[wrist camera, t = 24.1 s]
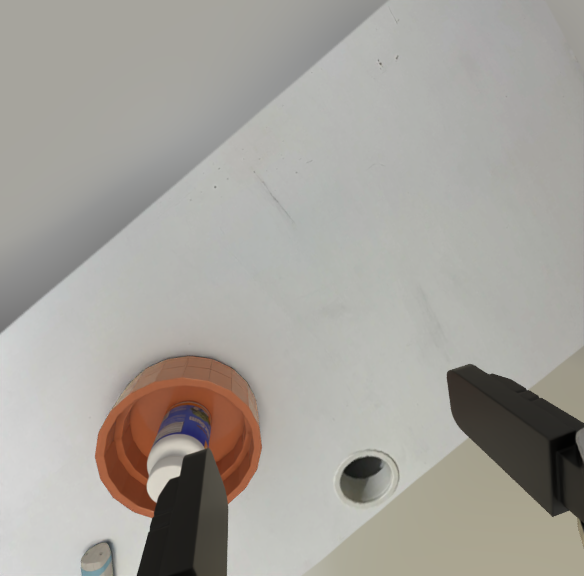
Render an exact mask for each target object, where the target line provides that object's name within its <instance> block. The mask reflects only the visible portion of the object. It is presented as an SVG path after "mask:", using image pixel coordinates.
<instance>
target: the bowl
mask: <svg viewBox="0 0 584 576" xmlns="http://www.w3.org/2000/svg"><path fill="white" fill-rule="evenodd" d="M187 401H190V402H196V403H199V404H201V405H203V406H204V407H205V408H206V409H207V410H208V412H209V413H210V416H211V421H212V424H211V433H210V440H209V447H208V448H210V450H211V451H212V454H213V456H214V459H215V462H216V465H217V467H218V470H219V473H220V476H221V478H222V481H223V484H224V487H225V490H226V495H227V501H228V504H229V503H230V502H231V501H232V500H233V499H234V498H235V497H236V496H238V495H239V494H240V493H241V492H242V491H243V490H244V489H245V488H246V487H247V485H248V483H249V482H250V480H251V478H252V477H253V475H254V473H255V472H256V470H257V467H258V463H259V458H260V454H261V449H262V444H261V436H260V427H259V419H258V411H257V403H256V399H255V397H254V395H253V393H252V391H251V389H250V387H249V385H248V383H247V382H246V381H245V380H244V379H243V378H242V377H241V376H240V375H239V374H238V373H237V372H236V371H235V370H233V369H232V368H231V367H228V366H226V365H224V364H222V363H220V362H218V361H216V360H213V359H209V358H202V357H194V356H185V357H178V358H172V359H167V360H164V361H162V362H159V363H157V364H155V365H153V366H151V367H149V368H147V369H145V370H144V371H143V372H141V373H140V374H139V375H138V376H137V377H136V378H135V379H134V380H133V381H132V382H130V383H129V384H128V386H127V387H126V389H125V390H124V392H123V393H122V395H121V396H120V398H119V399H118V401H117V402H116V404H115V405H114V407H113V408H112V410H111V411H110V413H109V415H108V416H107V418H106V420H105V422H104V424H103V425H102V427H101V429H100V431H99V433H98V439H97V446H96V453H95V459H96V463H97V467H98V471H99V475H100V479H101V481H102V482H103V484H104V485H105V487H106V488H107V489H108V491H109V492H110V494H111V495H112V497H113V498H115V499H116V500H117V501H119V502H120V503H121V504H123V505H124V506H126V507H127V508H129V509H130V510H131V511H134V512H135V513H138V514H141V515H144V516H147V517H150V518H153V517H154V510H155V507H156V502H155V501H153V500H152V499H151V498H150V496H149V494H148V492H147V481H148V478H149V474H148V471H147V460H148V456H149V454H150V451H151V448H152V446H153V443H154V441H155V438H156V436H157V433H158V431H159V428H160V426H161V423H162V420H163V418H164V416H165V414H166V413H167V411H168V410H169V409H170V408H171V407H172V406H174V405H176V404H178V403H181V402H187Z"/></svg>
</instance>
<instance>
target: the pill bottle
mask: <svg viewBox="0 0 584 576" xmlns="http://www.w3.org/2000/svg"><path fill="white" fill-rule="evenodd" d="M211 424H212V421H211V416H210V413H209V412H208V410H207V409H206V408H205V407H204V406H203V405H201V404H199V403H196V402H190V401H187V402H181V403H178V404H176V405H174V406H172V407H171V408H170V409H169V410H168V411H167V413H166V414H165V416H164V418H163V420H162V423H161V426H160V428H159V431H158V433H157V436H156V438H155V441H154V443H153V446H152V448H151V451H150V454H149V456H148V460H147V471H148V474H149V478H148V481H147V492H148V494H149V496H150V498H151V499H152V500H153V501H155V502H156V503H157V499H158V496H159V494H160V493H161V491H162V490H163V488H164V487H165V485H166V484H167V482H168V481H169V479H172V478H175V477H178V476H180V471H181V466H182V462H183V458H184V456H185V455H188V454H191V453H194V452H197V451H200V450H203V449H206V448H208V447H209V440H210V433H211Z"/></svg>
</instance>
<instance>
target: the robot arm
mask: <svg viewBox="0 0 584 576" xmlns="http://www.w3.org/2000/svg"><path fill="white" fill-rule="evenodd" d="M447 383H448V390H449V398H450V405H451V411H452V415H453V417H454V420H455V421H456V423H457V425H458V426H459V428H460V429H461V430H462V431H463V432H464V433H465V434H466V435H467V436H468V437H469V438H471V439H472V440H473V441H474V442H475V443H476V444H477V445H478V446H479V447H480V448H481V449H482V450H483V451H484V452H485V453H486V454H487V455H488V456H489V457H491V459H493V460H494V461H495V462H496V463H497V464H498V465H499V466H500V467H501V468H502V469H503V470H504V471H505V472H506V473H507V474H508V475H510V477H511V478H512V479H513V480H515V481H516V482H517V483H518V484H519V485H520V486H521V487H522V488H523V489H524V490H525V491H526V492H527V493H528V494H529V495H530V496H531V497H532V498H534V500H536V501H537V502H538V503H539V504H540V505H541V506H542V507H543V508H544V509H545V510H546V511H547V512H548V513H549V514H550V515H551V516H552V517H554V516H556V515H559V514H561V513H564V512H566V511H569V510H570V511H571V512H572V513H573V514H574V515H575V516H576V517H577V520H578V529H579V533H580V536H581V540H582V543H583V546H584V423H583V422H581V421H579V420H578V419H576V418H574V417H573V416H571V415H569V414H568V413H566V412H564V411H562V410H561V409H559V408H558V407H556V406H554V405H553V404H551V403H549V402H548V401H546V400H544V399H543V398H539V397H538V395H536V394H534V393H532V392H531V391H529V390H528V391H527V390H526V388H524V387H523V386H521V385H519V384H518V383H516V382H514V381H513V380H511V379H508V378H505V377H502V376H498V375H495V374H490V375H489V374H487V373H485V372H484V371H482V370H481V369H479V368H478V367H476V366H474V365H472V364H468V365H465V366H462V367H459V368H456V369H452V370H449V371H448V372H447ZM227 541H228V501H227V495H226V490H225V487H224V484H223V481H222V478H221V476H220V473H219V470H218V467H217V465H216V462H215V459H214V456H213V454H212V451H211V450H210V448H206V449H203V450H200V451H197V452H194V453H191V454H188V455H185V456H184V458H183V462H182V466H181V471H180V476H178V477H175V478H172V479H169V481H168V482H167V484H166V485H165V487H164V488H163V490H162V491H161V493H160V494H159V496H158V499H157V503H156V507H155V510H154V517H153V518H152V522H151V525H150V532H149V533H148V536H147V540H146V544H145V547H144V551H143V555H142V559H141V562H140V566H139V570H138V573H137V576H227Z"/></svg>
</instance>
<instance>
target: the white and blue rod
mask: <svg viewBox="0 0 584 576" xmlns="http://www.w3.org/2000/svg"><path fill="white" fill-rule="evenodd" d="M81 572H82V576H113V568H112V556H111V551H110V548H109V546H108V544H107V543H100V544H98V545H96V546H94V547H92V548H91V549H89V550H88V551H87V552H86V553H85V554H84V556H83V557H82V559H81Z"/></svg>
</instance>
